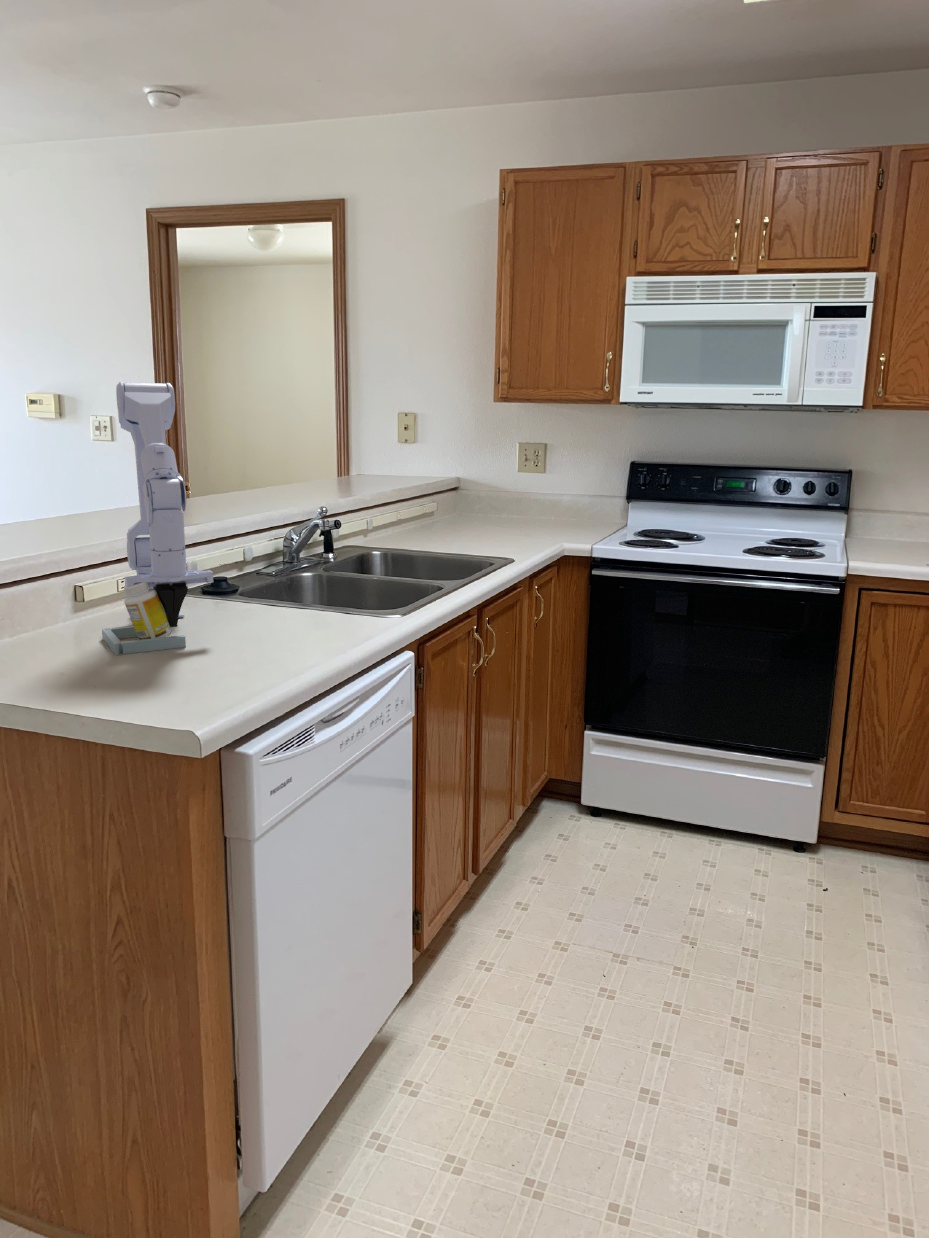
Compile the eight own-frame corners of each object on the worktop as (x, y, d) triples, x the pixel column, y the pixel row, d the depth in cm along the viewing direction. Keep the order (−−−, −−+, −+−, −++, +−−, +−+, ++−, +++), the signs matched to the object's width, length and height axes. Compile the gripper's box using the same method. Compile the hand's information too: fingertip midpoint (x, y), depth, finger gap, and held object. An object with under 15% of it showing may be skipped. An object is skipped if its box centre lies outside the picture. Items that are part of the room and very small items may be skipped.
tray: (102, 638, 160) (101, 628, 160) (169, 631, 166) (168, 622, 166) (115, 655, 150) (114, 644, 150) (185, 646, 156) (185, 636, 155)
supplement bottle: (174, 627, 161) (154, 574, 158) (169, 638, 156) (148, 583, 153) (143, 636, 161) (122, 582, 158) (137, 647, 156) (115, 592, 152)
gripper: (128, 555, 150) (134, 635, 153) (216, 549, 157) (220, 626, 160) (120, 549, 156) (125, 626, 159) (205, 544, 163) (209, 618, 166)
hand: (172, 626), depth 160 cm, fingers closed
